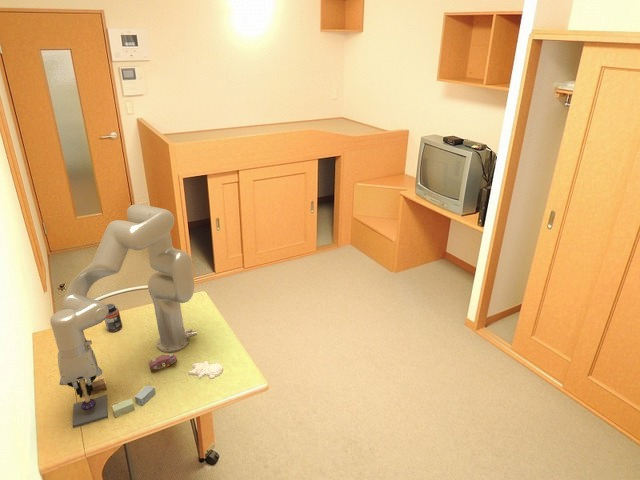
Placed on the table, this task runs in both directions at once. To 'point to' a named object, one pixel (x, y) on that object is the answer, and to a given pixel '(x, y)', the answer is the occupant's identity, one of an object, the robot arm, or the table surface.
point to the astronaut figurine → (206, 370)
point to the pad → (90, 412)
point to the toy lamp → (86, 396)
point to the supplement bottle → (113, 319)
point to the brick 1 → (98, 386)
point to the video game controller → (162, 361)
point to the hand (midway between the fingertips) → (85, 393)
